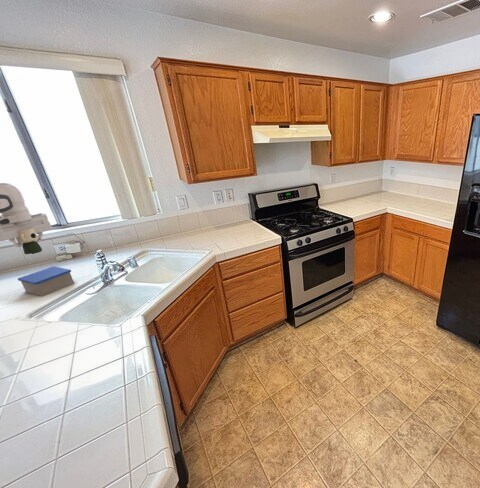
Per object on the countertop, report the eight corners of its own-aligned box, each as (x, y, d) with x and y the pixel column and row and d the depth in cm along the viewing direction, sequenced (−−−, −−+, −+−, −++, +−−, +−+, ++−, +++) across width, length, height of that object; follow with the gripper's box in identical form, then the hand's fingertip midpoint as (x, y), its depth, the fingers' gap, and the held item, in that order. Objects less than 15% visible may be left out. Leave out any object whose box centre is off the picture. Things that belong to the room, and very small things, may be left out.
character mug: (40, 255, 130) (29, 230, 125) (20, 258, 126) (8, 233, 122) (46, 248, 139) (36, 224, 134) (27, 251, 135) (16, 227, 130)
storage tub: (41, 296, 133) (34, 282, 130) (24, 292, 137) (17, 278, 134) (76, 282, 146) (70, 269, 143) (59, 279, 151) (53, 266, 148)
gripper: (41, 211, 136) (51, 236, 141) (-17, 222, 118) (-3, 250, 123) (48, 212, 134) (59, 237, 139) (-10, 223, 116) (4, 252, 121)
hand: (29, 243), depth 130 cm, fingers closed on character mug, 6 cm apart
